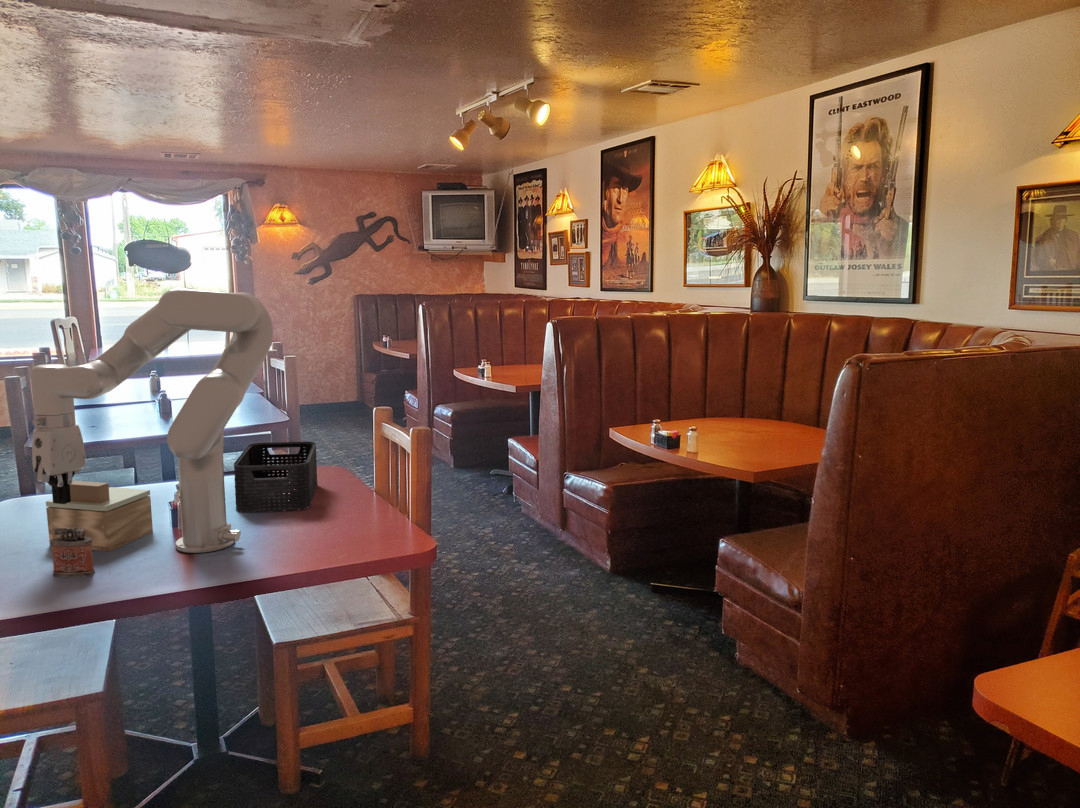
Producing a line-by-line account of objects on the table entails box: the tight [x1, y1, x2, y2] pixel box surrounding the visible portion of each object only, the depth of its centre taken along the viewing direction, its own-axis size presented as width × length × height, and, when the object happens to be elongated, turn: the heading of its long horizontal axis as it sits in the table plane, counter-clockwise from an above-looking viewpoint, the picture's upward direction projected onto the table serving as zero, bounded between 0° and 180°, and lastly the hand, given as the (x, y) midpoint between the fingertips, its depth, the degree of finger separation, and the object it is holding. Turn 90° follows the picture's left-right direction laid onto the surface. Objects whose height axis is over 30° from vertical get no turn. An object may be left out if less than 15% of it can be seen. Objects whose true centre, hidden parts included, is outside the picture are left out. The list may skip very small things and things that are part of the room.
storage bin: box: [233, 441, 318, 514], centre depth 217 cm, size 29×19×13 cm
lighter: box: [49, 527, 96, 578], centre depth 159 cm, size 8×3×10 cm, turn 92°
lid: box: [45, 479, 151, 511], centre depth 180 cm, size 16×14×5 cm
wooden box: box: [45, 495, 154, 552], centre depth 181 cm, size 16×14×9 cm
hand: (62, 502), depth 170 cm, fingers closed
